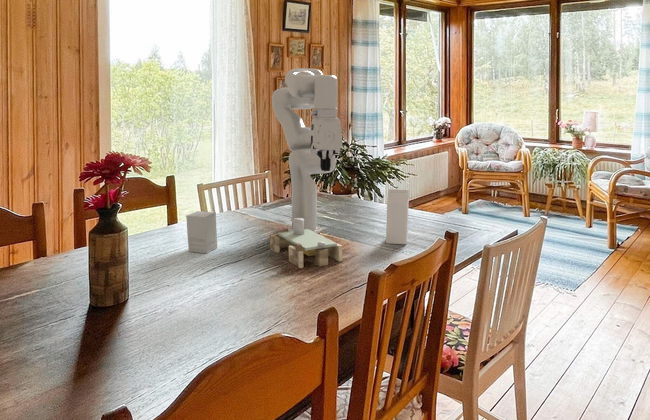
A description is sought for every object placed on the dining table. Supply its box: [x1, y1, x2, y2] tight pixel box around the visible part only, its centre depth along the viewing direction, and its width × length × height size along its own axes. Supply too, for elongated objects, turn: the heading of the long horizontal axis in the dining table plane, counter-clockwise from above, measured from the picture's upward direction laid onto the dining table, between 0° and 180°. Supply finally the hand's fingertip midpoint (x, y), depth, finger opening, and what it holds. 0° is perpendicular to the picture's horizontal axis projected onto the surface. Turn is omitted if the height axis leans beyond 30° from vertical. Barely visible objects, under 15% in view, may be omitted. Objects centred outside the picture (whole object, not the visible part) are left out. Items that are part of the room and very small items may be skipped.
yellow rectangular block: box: [302, 249, 315, 257], centre depth 184 cm, size 6×4×3 cm, turn 28°
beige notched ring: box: [269, 231, 343, 269], centre depth 181 cm, size 25×15×7 cm, turn 29°
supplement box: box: [185, 210, 218, 254], centre depth 186 cm, size 7×7×13 cm
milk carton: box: [385, 188, 410, 245], centre depth 195 cm, size 7×7×19 cm
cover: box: [279, 218, 337, 251], centre depth 178 cm, size 21×11×6 cm, turn 29°
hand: (325, 170), depth 182 cm, fingers closed
